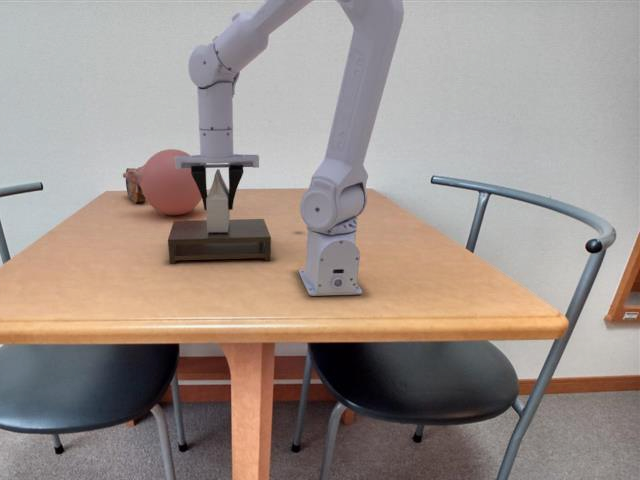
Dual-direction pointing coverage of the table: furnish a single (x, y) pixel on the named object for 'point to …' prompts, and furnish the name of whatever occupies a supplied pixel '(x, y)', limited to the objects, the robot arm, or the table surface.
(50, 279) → the table surface
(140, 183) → the balloon
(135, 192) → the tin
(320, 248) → the robot arm
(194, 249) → the dark brown low stand
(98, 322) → the table surface
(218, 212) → the milk carton
